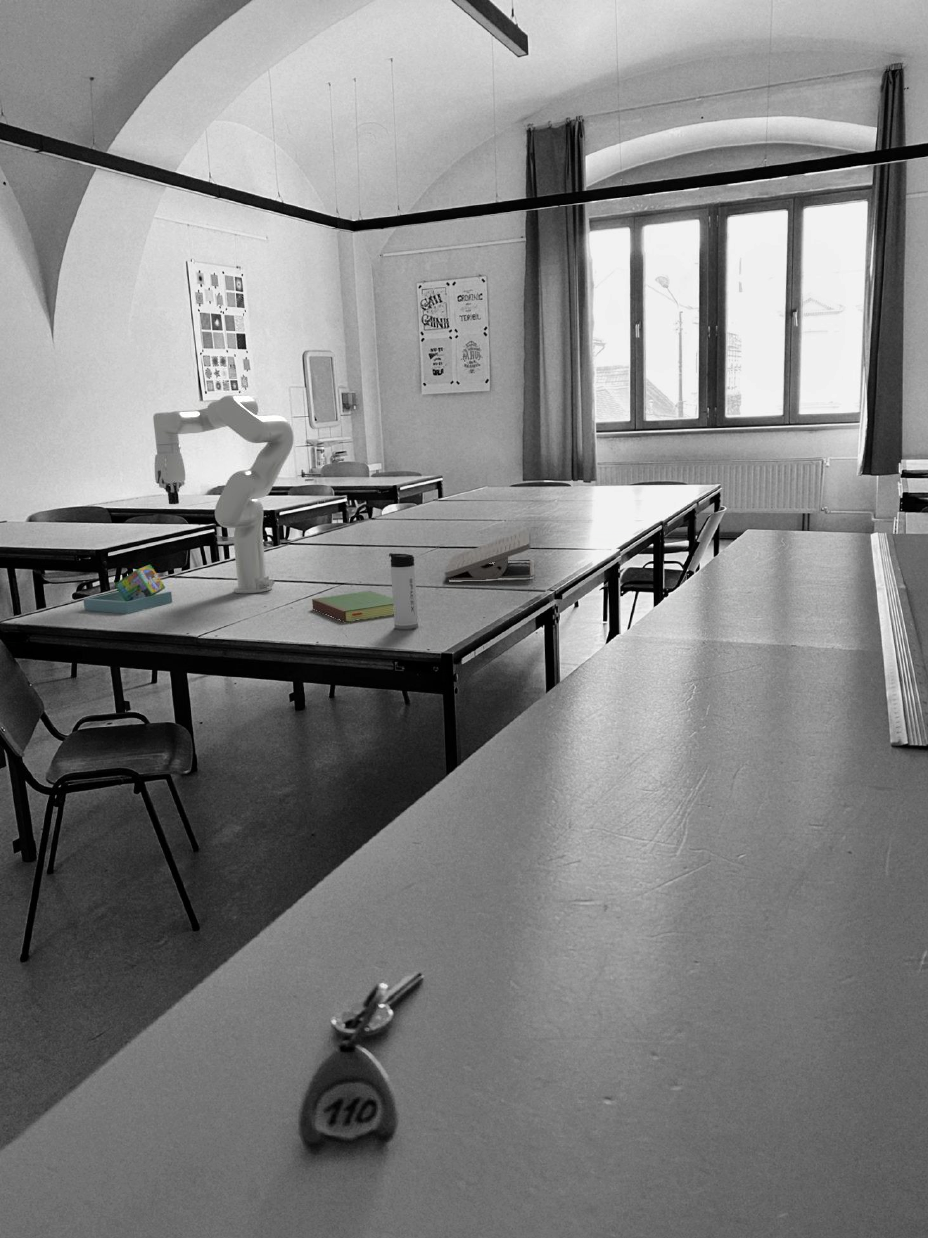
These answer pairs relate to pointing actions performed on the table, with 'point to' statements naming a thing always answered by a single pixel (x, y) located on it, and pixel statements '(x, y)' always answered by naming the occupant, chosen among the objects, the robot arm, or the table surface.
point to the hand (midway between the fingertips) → (174, 503)
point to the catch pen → (119, 605)
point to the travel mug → (404, 591)
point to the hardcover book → (355, 606)
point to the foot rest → (490, 559)
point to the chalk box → (140, 584)
